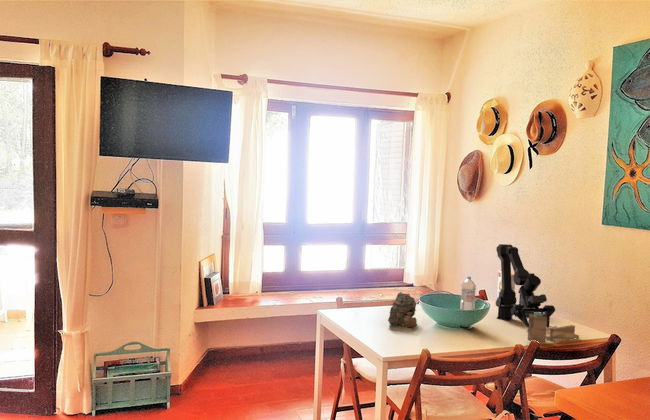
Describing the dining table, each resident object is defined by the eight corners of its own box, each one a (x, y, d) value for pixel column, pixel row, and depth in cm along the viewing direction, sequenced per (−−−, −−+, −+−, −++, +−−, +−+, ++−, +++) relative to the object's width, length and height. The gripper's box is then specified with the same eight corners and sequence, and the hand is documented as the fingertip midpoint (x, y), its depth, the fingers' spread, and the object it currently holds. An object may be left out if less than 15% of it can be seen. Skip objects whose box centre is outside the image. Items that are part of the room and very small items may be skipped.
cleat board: (527, 332, 221) (527, 321, 220) (549, 328, 228) (550, 317, 228) (555, 342, 207) (556, 331, 207) (578, 338, 214) (579, 327, 214)
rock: (390, 286, 233) (417, 286, 223) (402, 304, 240) (428, 304, 231) (379, 316, 222) (406, 317, 212) (391, 334, 229) (418, 335, 219)
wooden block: (527, 339, 211) (529, 311, 210) (539, 339, 211) (541, 311, 210) (533, 343, 205) (535, 314, 204) (545, 343, 205) (547, 314, 205)
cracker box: (496, 303, 273) (498, 269, 272) (506, 304, 273) (508, 269, 271) (502, 310, 259) (505, 273, 258) (513, 310, 259) (516, 274, 257)
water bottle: (473, 325, 229) (476, 276, 227) (473, 329, 222) (476, 278, 221) (459, 323, 231) (462, 274, 229) (458, 327, 224) (461, 277, 223)
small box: (534, 317, 246) (536, 298, 246) (522, 316, 248) (523, 297, 247) (530, 312, 257) (531, 294, 256) (517, 311, 258) (519, 293, 257)
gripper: (514, 287, 211) (524, 317, 200) (554, 288, 211) (566, 318, 201) (506, 299, 219) (515, 329, 209) (545, 300, 219) (555, 330, 209)
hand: (538, 326), depth 207 cm, fingers open, 9 cm apart
